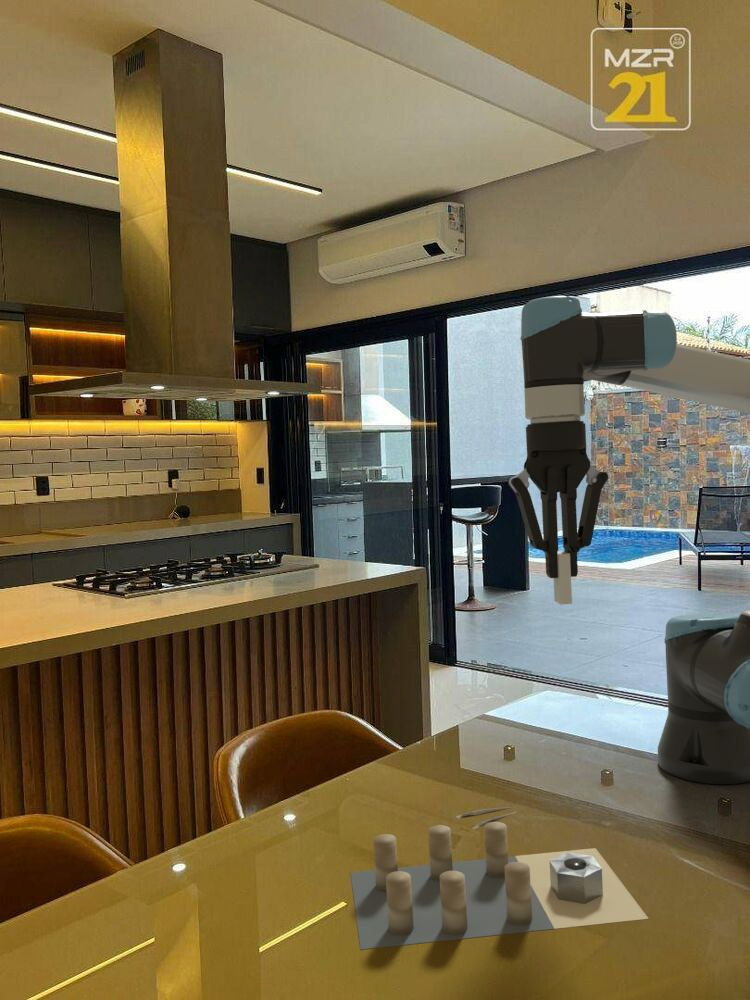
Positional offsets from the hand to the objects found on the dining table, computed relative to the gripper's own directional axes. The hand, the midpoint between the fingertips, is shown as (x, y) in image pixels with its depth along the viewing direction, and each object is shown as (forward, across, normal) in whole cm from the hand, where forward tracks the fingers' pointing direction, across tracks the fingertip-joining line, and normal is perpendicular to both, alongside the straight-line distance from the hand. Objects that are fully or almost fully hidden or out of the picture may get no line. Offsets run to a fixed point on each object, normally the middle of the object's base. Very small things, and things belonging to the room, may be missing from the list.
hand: (563, 602), depth 113 cm
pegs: (+29, +20, +17) cm, 39 cm away
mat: (+29, +15, +17) cm, 37 cm away
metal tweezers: (+30, +7, -4) cm, 31 cm away
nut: (+29, +6, +18) cm, 34 cm away
